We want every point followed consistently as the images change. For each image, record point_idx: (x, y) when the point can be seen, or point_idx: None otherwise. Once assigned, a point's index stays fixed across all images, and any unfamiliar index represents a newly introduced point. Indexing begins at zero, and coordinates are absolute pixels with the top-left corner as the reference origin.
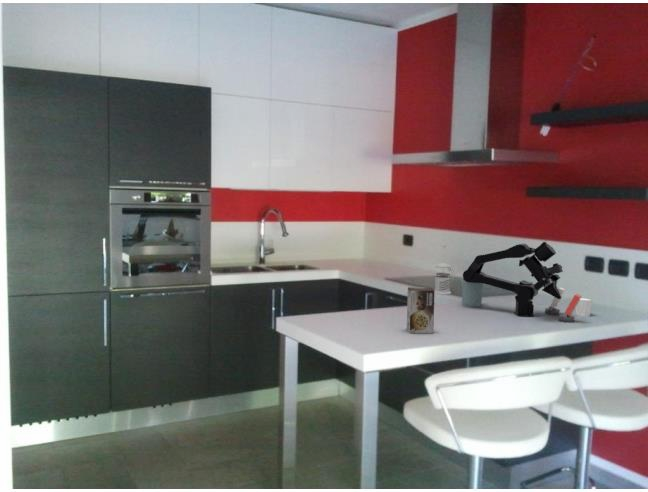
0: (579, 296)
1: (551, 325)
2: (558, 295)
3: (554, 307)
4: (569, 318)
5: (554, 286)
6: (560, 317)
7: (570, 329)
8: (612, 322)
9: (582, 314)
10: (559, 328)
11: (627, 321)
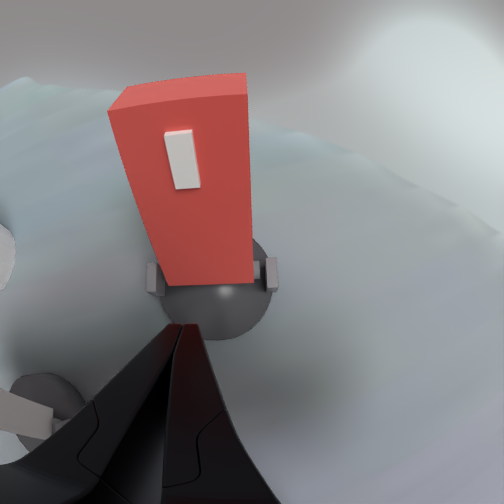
0: (195, 79)
1: (427, 310)
2: (209, 360)
3: (48, 410)
4: (259, 246)
5: (191, 501)
6: (263, 313)
7: (435, 198)
8: (97, 104)
9: (10, 249)
10: (457, 248)
11: (53, 86)
